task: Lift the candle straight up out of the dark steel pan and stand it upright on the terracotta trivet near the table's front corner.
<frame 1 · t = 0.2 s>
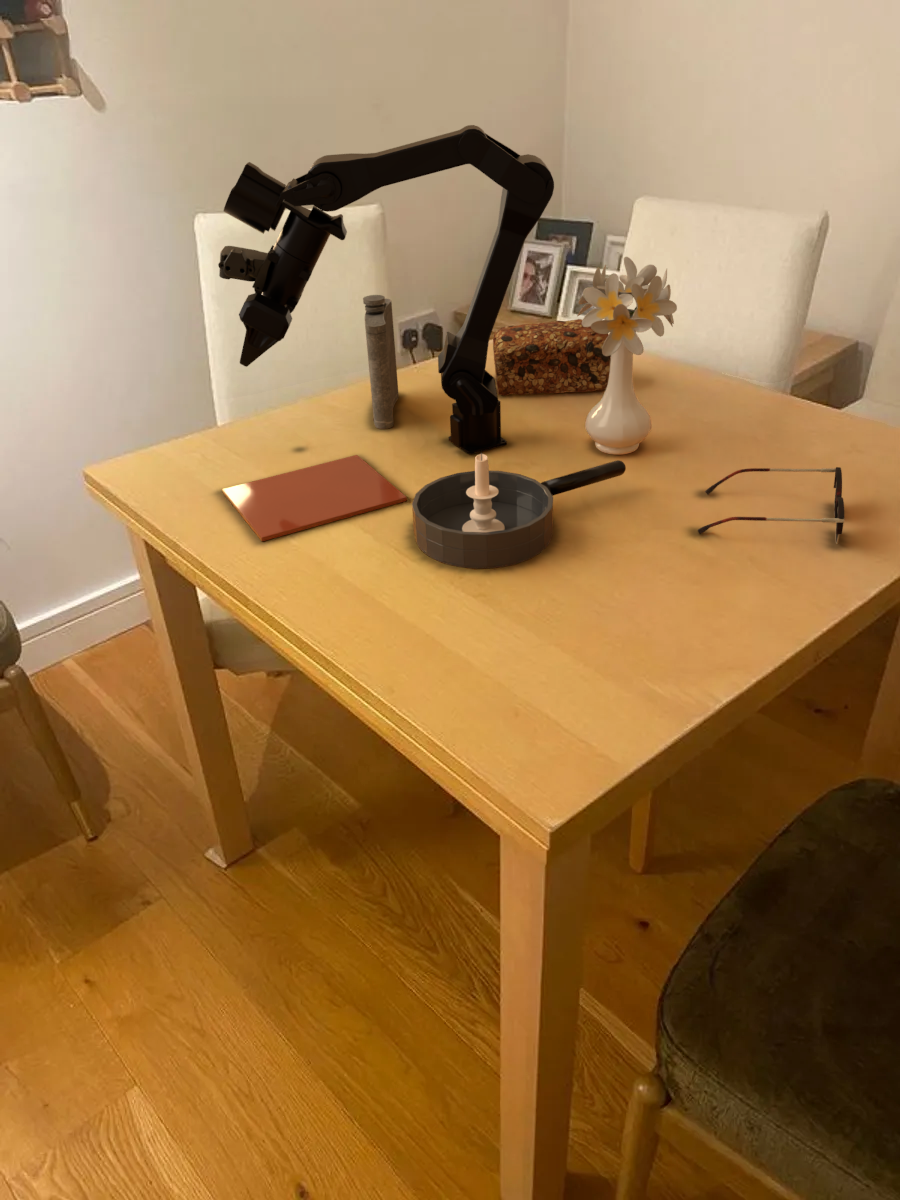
hand: (248, 353, 134), 15 cm above the table, tool tilted 30°, fingers open, 9 cm apart
bread: (550, 385, 161), on the table
pan: (483, 533, 119), on the table
sunglasses: (767, 521, 119), on the table
flower vase: (620, 449, 138), on the table
trivet: (313, 496, 129), on the table
candle: (483, 532, 119), resting on pan
flask: (384, 412, 154), on the table
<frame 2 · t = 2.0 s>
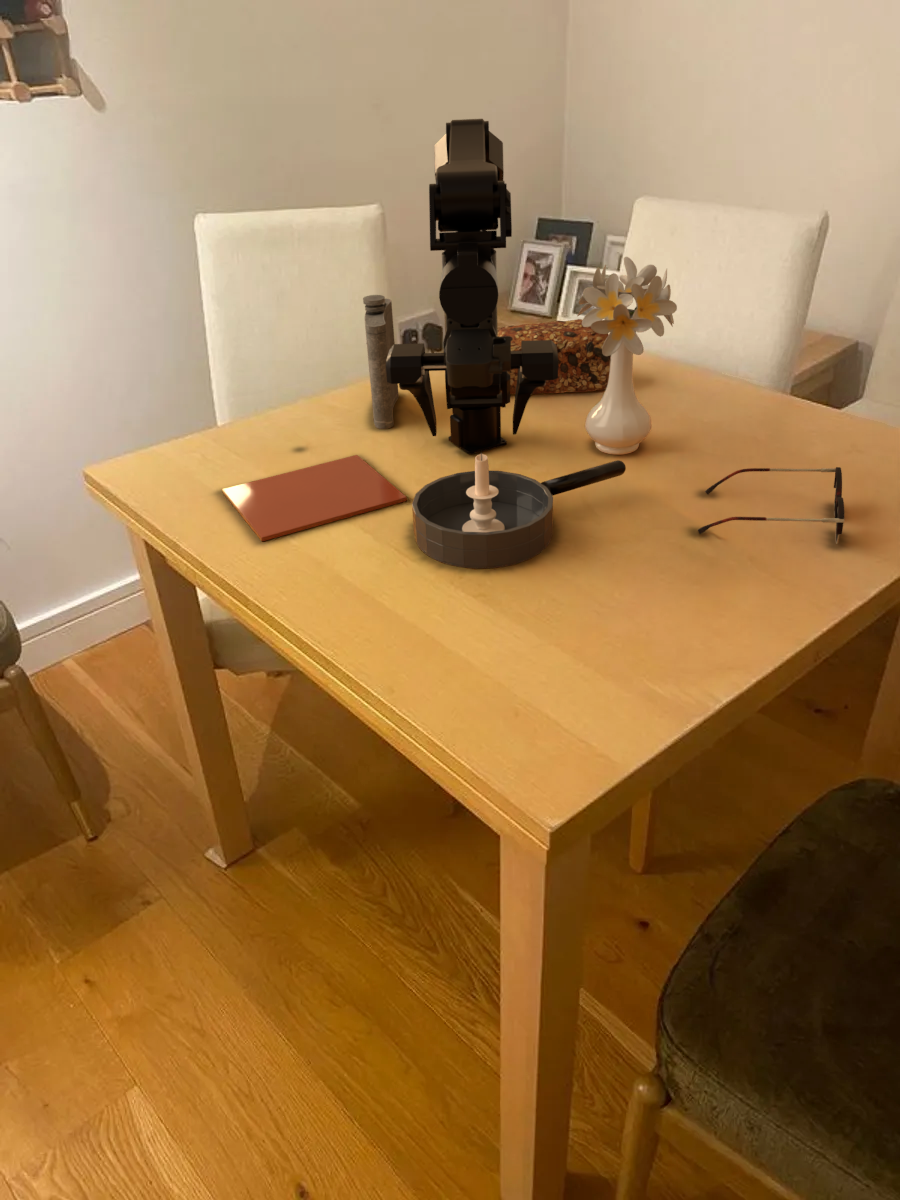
hand: (474, 434, 112), 13 cm above the table, tool pointing down, fingers open, 9 cm apart
nothing on the table moved.
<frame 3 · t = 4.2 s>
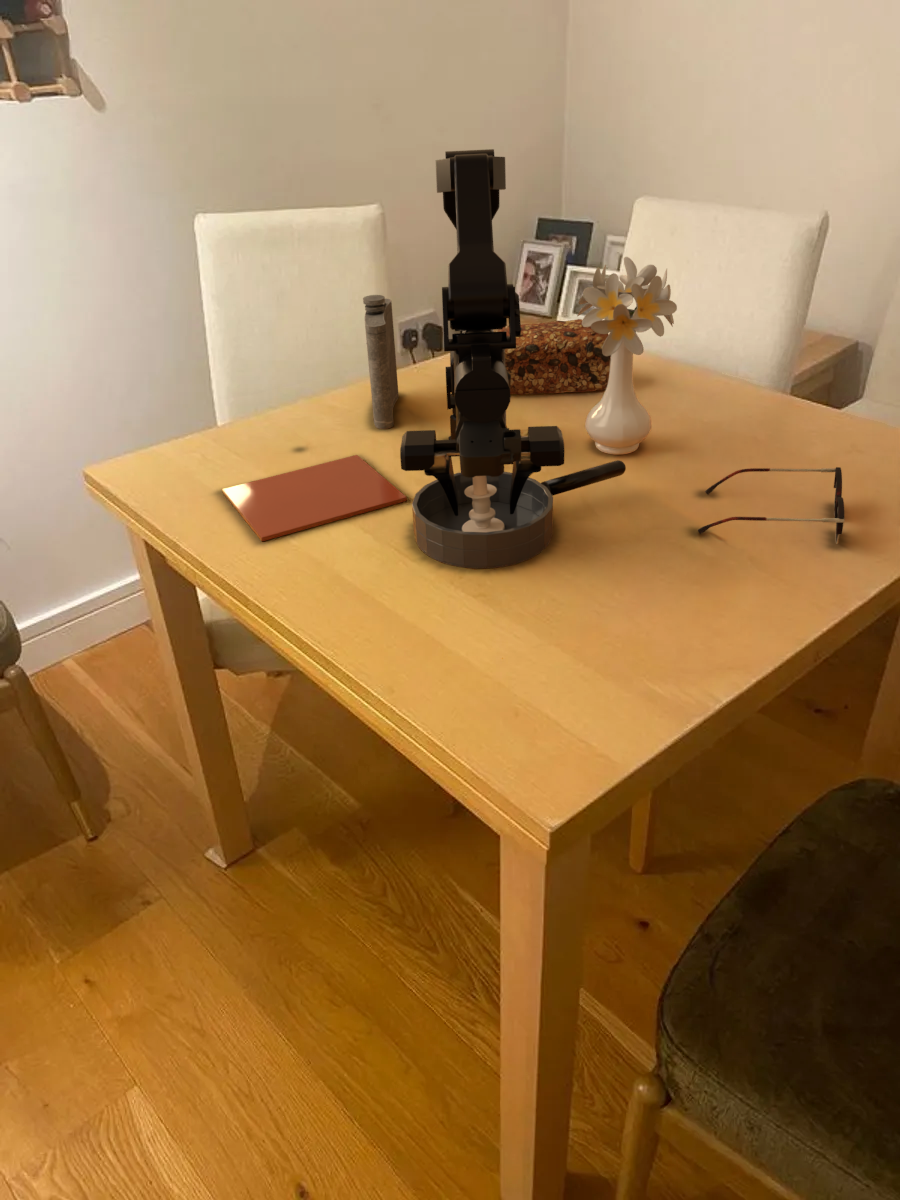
hand: (483, 513, 117), 3 cm above the table, tool pointing down, fingers closed on candle, 6 cm apart
candle: (483, 531, 119), resting on pan, touching gripper
everything else where it was.
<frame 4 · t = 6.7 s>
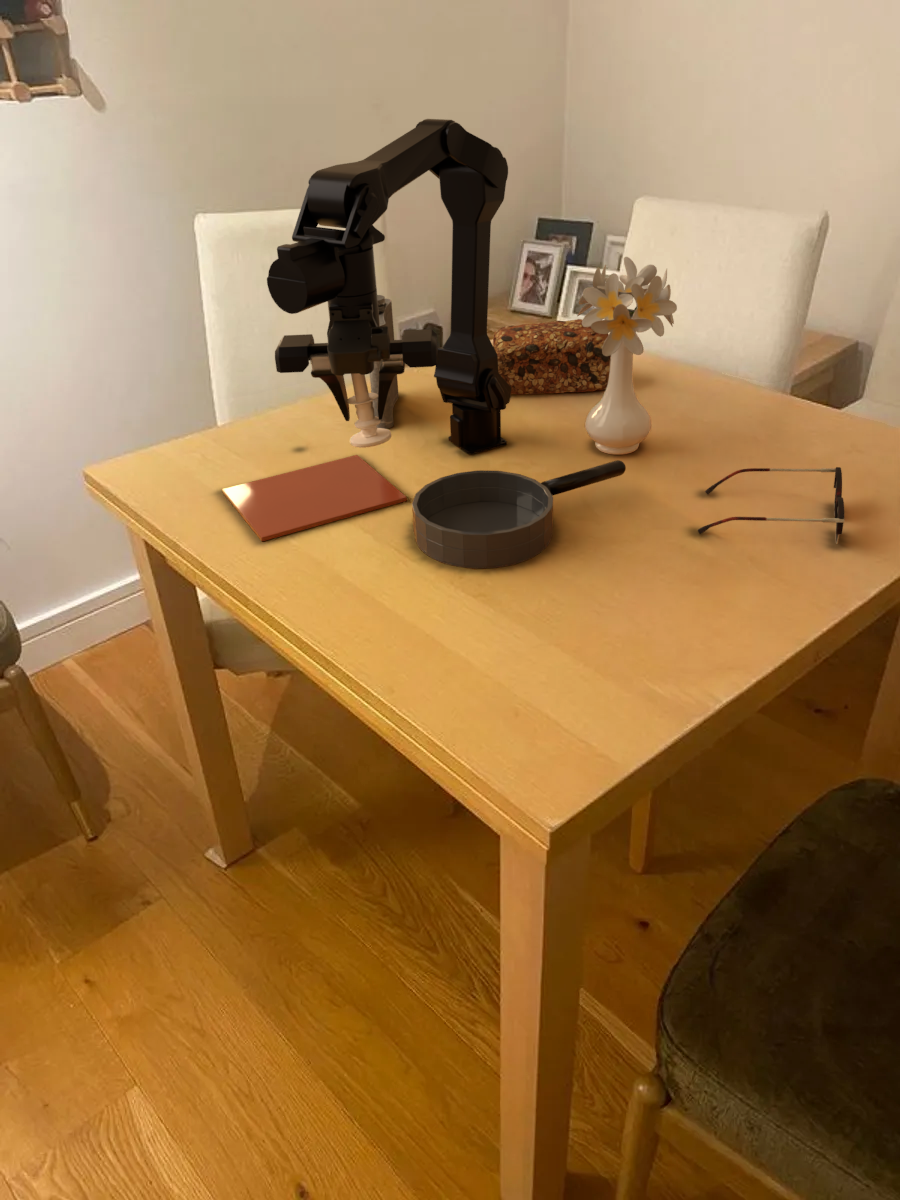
hand: (364, 419, 119), 12 cm above the table, tool pointing down, fingers closed on candle, 4 cm apart
candle: (371, 441, 120), point 9 cm above the table, touching gripper
everything else where it was.
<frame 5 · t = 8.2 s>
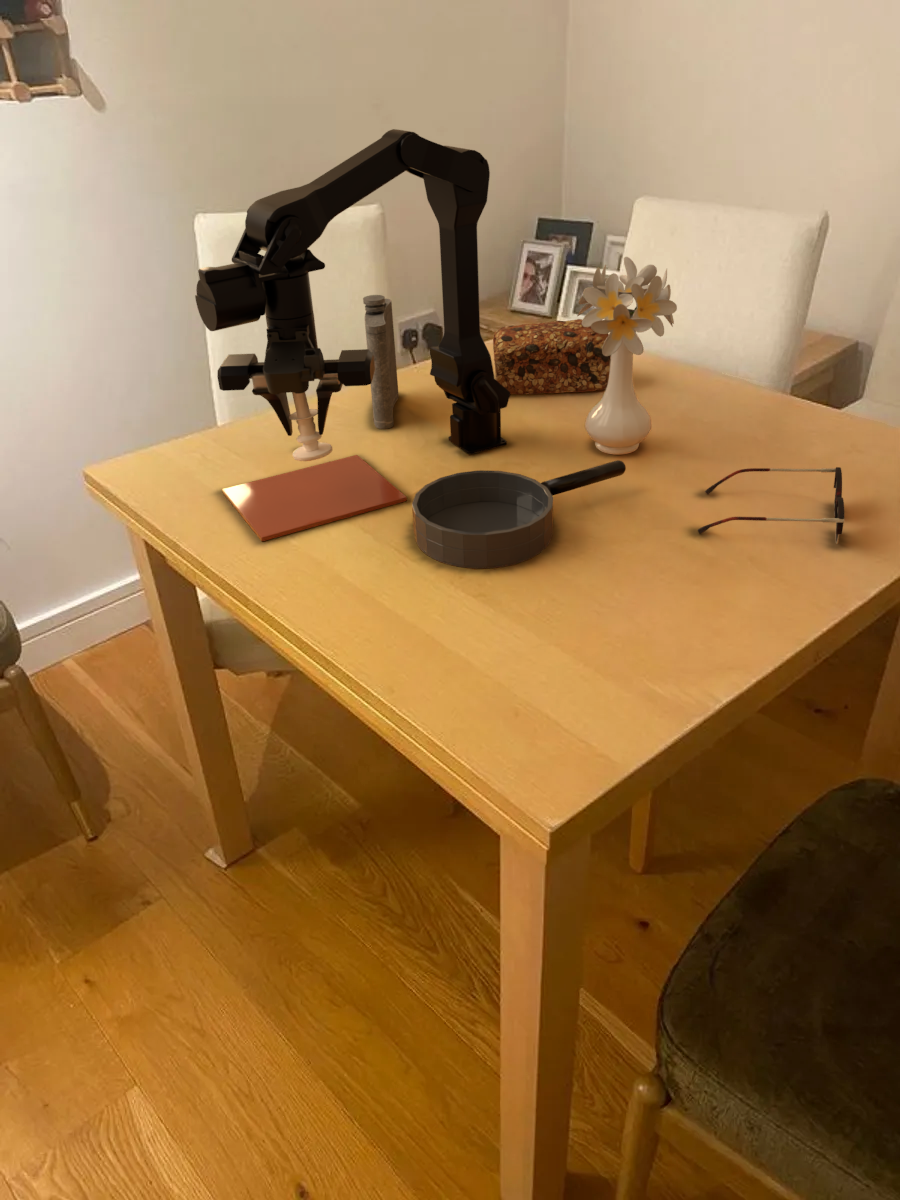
hand: (305, 434, 124), 9 cm above the table, tool pointing down, fingers closed on candle, 4 cm apart
candle: (313, 454, 126), point 6 cm above the table, touching gripper
everything else where it was.
when the fingers open (4 cm above the table, at t = 9.6 s): candle stays where it is, resting on trivet.
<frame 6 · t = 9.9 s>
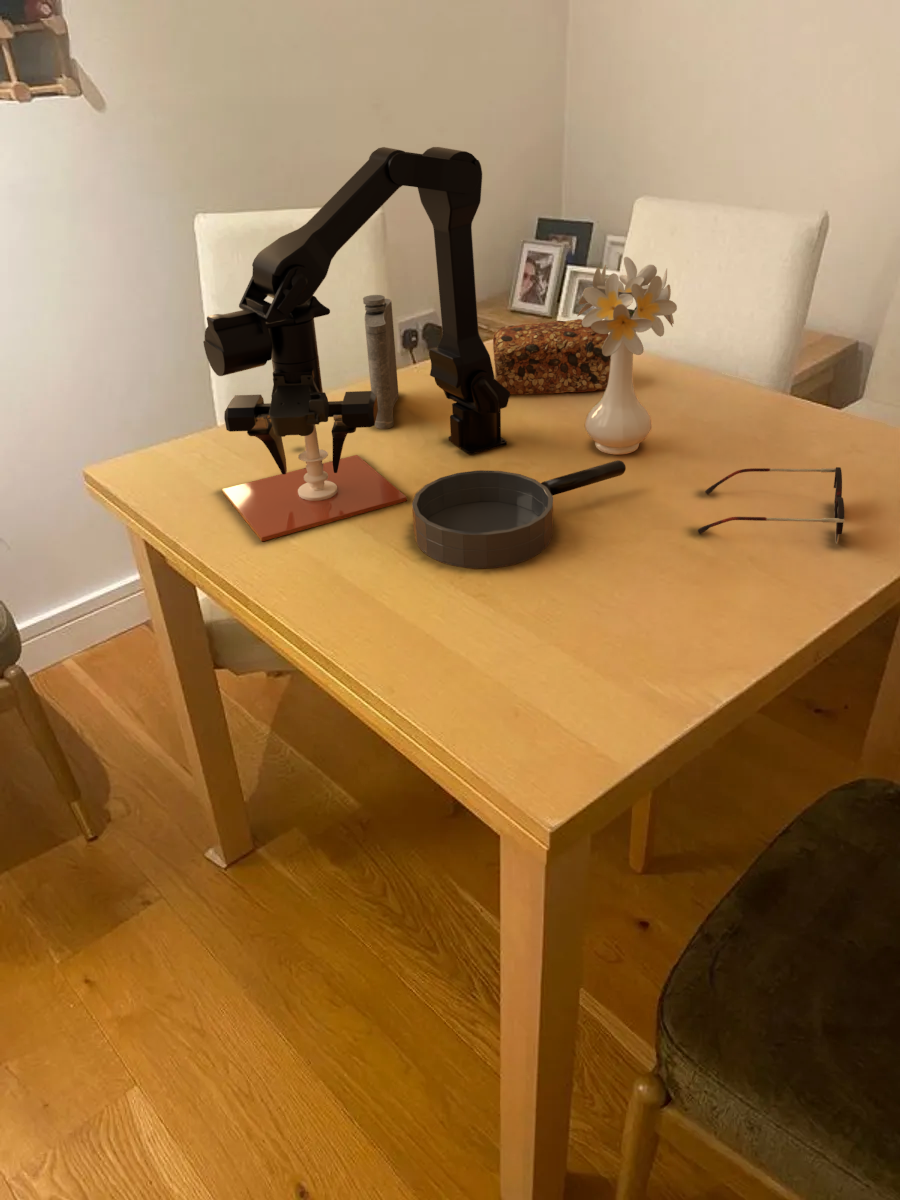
hand: (310, 472, 127), 4 cm above the table, tool pointing down, fingers open, 6 cm apart
candle: (318, 493, 129), resting on trivet
everything else where it was.
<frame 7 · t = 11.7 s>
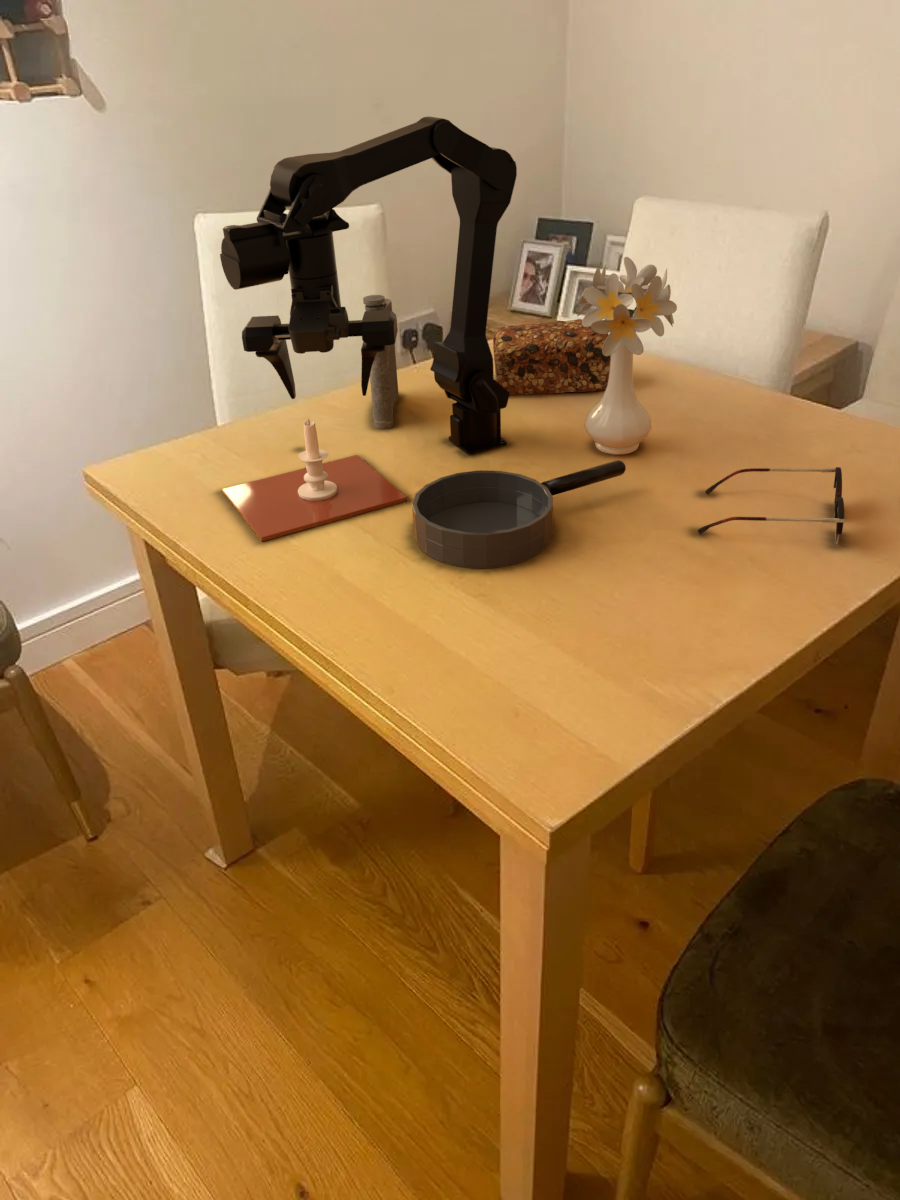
hand: (329, 396, 125), 13 cm above the table, tool pointing down, fingers open, 9 cm apart
nothing on the table moved.
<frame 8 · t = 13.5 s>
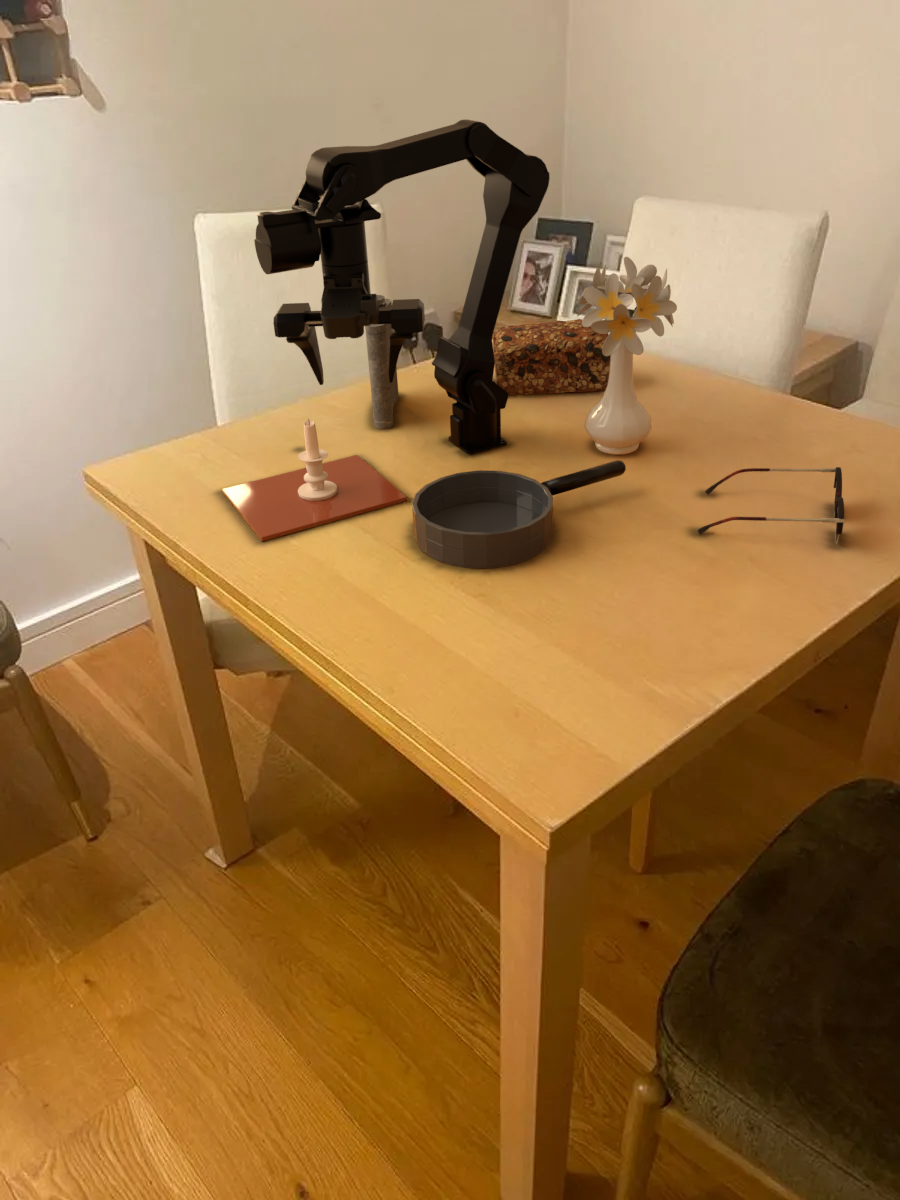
hand: (356, 382, 128), 13 cm above the table, tool pointing down, fingers open, 9 cm apart
nothing on the table moved.
at the end: candle inside the target area on the trivet (0.7 cm from its centre), point 0.4 cm above the trivet's base; candle tilted 0°; candle touching trivet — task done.
